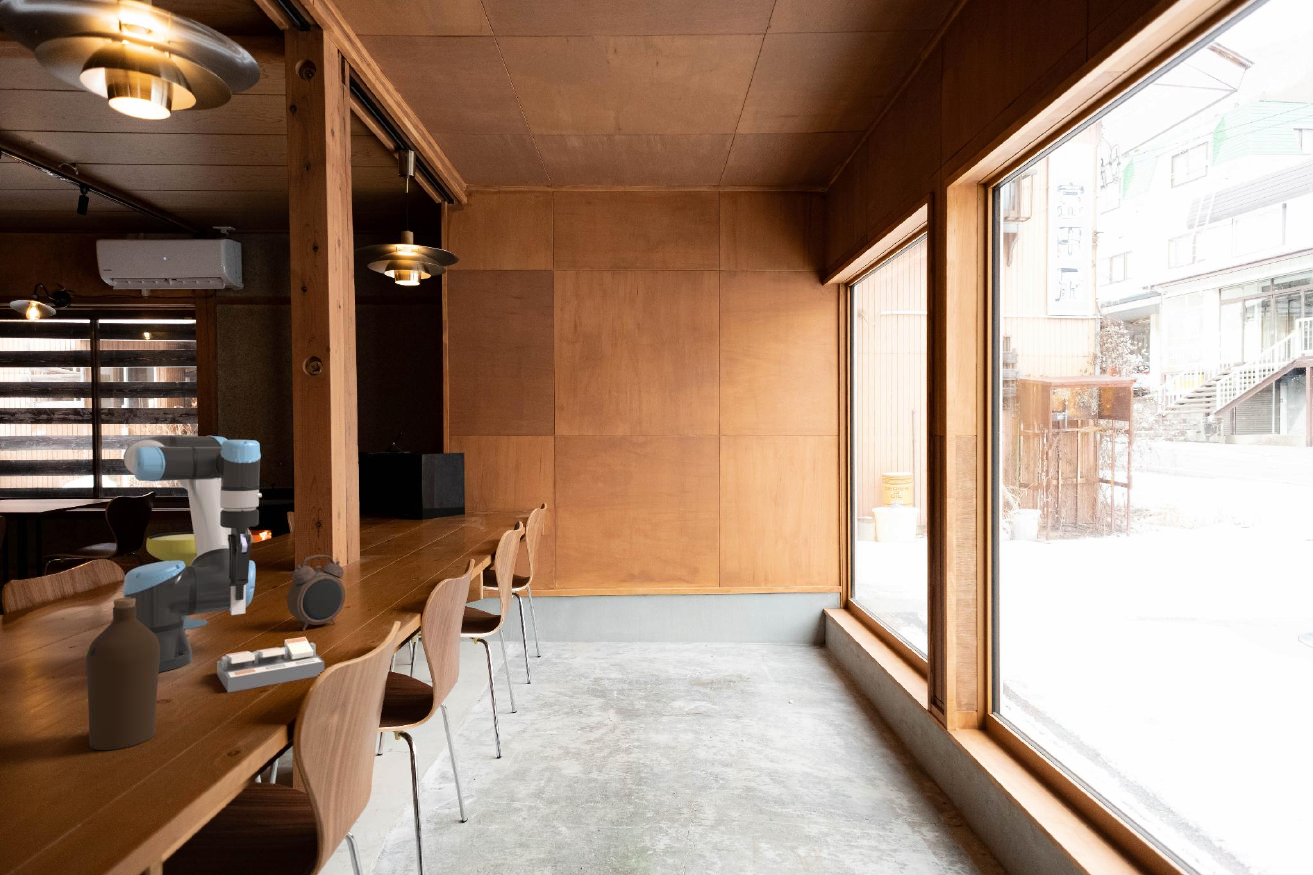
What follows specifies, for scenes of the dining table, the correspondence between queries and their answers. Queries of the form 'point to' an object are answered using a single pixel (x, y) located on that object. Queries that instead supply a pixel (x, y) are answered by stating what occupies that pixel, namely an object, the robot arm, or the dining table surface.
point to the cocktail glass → (176, 557)
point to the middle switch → (270, 652)
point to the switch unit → (268, 670)
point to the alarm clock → (316, 593)
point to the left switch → (240, 657)
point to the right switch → (298, 648)
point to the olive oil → (122, 681)
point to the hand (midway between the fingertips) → (237, 613)
